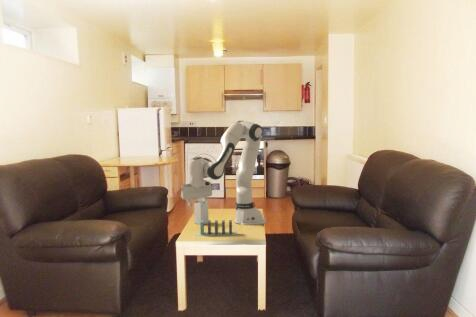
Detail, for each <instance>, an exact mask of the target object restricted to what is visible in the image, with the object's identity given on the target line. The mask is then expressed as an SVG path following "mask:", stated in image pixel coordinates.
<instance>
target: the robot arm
mask: <svg viewBox="0 0 476 317" xmlns="http://www.w3.org/2000/svg"><path fill="white" fill-rule="evenodd" d="M262 136H263V127H262V126H261V125H259V124H258V123H255V122H253V121H252V122H251V121H245V120H238V121H234V122H233V123H232V124H230V125H229V126H228V128H227V129H226V130H225V131H224V132H223V135H221V138H220V141H219V143H220V145H221V147H222V151H221V154H220V155H219V157H218V159H217V160H216V161H215V162H213V161H209V160H206V159H204V158H203V157H201V156H196V157H192V158H191V159H190V161H189V170H188V171H189V183H186V184H183V185H181V187H180V198H181V199H182V200H183V201H186V202H187V204H188V205H187V206H188V207H191V206H192V205H193V204H192V202H190V201H191V200H193V199H197V198H201V197H203V198H204V200H203V201H202V204H205V201H206V200H207V199H208V197H212V195H213V187H212V186H211V184H212V183H211V181H209V180H206V179H205V177H207V178H210V179H212V180H216V181H217V180H219V179H221V178H222V177H223V176H224V174H225V169H226V166H227V165H228V164H229V161H230V159H231V158H232V156H233V154H234V152H235V149H236V146H237V145H238V144H239V142H240V140H242V138H245V141H244V144H243V148H242V150H241V155H240V159H239V163H238V164H239V165H238V169H236V173H235V185H236V188H235V189H236V190H235V191H236V202H235V210H236V211H235V218H234V223H236V224H238V225H243V226H248V225H249V226H251V225H252V226H253V225H265V224H266V223H267V220H266V218H265V217H264V216H263V213H262V211H261V210H259V209H258V208H257V207H256V206H257V204H256V203H255V202H254V201H253V186H252V180H253V176H254V173H255V168H256V162H257V158H258V156H259V151H260V146H261V137H262Z"/></svg>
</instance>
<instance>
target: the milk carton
mask: <svg viewBox="0 0 476 317" xmlns="http://www.w3.org/2000/svg"><path fill="white" fill-rule="evenodd" d="M203 200H204V198H203V197H201V198H196V200H195V201H194V202H193V215H194V217H193V218H194V224H196V225H200V222H201V220H204V225H207V224H208V220H209V202H208V200H207V199H206V201H205V204H202V201H203Z"/></svg>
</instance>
